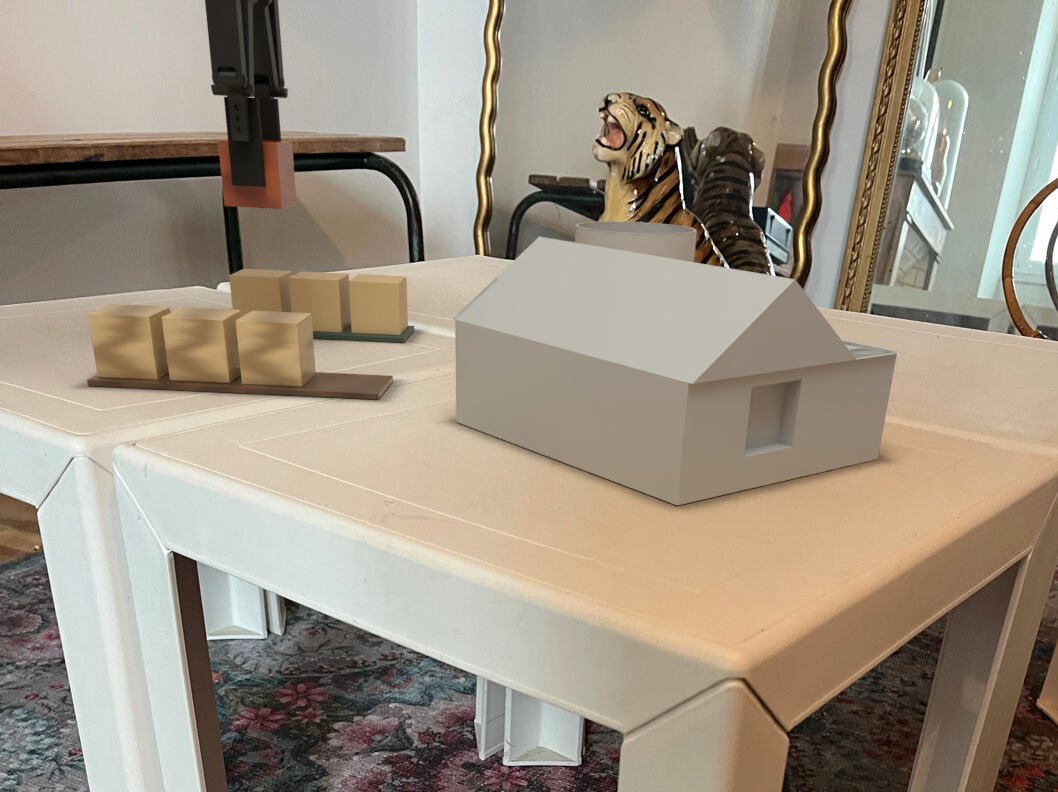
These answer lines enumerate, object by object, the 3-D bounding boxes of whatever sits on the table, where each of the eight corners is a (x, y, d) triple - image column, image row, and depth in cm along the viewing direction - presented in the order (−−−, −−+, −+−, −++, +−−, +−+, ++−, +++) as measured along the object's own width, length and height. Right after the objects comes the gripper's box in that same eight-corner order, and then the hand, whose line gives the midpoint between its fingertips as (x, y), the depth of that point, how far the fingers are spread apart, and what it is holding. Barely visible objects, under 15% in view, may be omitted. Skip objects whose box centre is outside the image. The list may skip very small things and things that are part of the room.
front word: (87, 386, 92) (75, 315, 89) (120, 368, 98) (109, 301, 95) (378, 399, 92) (375, 328, 89) (393, 381, 98) (390, 314, 95)
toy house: (453, 421, 86) (452, 239, 80) (651, 391, 98) (663, 231, 92) (680, 506, 70) (701, 287, 63) (885, 459, 82) (920, 269, 75)
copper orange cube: (224, 206, 97) (217, 140, 94) (241, 201, 101) (236, 138, 98) (281, 208, 96) (276, 143, 94) (296, 204, 101) (292, 141, 98)
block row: (168, 331, 114) (160, 273, 111) (190, 320, 120) (184, 264, 117) (403, 342, 113) (401, 284, 111) (414, 330, 119) (412, 275, 117)
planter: (611, 345, 116) (617, 234, 111) (550, 324, 126) (553, 222, 120) (710, 338, 122) (721, 232, 117) (645, 319, 131) (652, 220, 126)
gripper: (243, -178, 78) (272, 192, 90) (308, -131, 94) (326, 180, 106) (137, -183, 79) (180, 188, 90) (219, -135, 94) (247, 176, 106)
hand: (258, 183), depth 98 cm, fingers closed on copper orange cube, 5 cm apart
